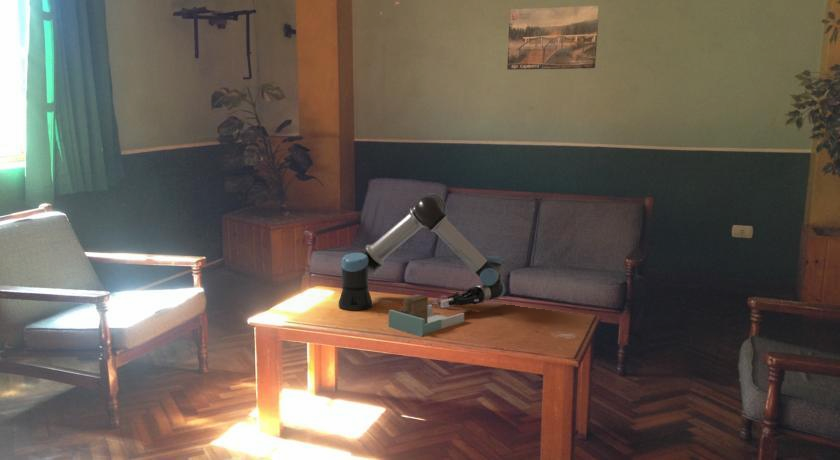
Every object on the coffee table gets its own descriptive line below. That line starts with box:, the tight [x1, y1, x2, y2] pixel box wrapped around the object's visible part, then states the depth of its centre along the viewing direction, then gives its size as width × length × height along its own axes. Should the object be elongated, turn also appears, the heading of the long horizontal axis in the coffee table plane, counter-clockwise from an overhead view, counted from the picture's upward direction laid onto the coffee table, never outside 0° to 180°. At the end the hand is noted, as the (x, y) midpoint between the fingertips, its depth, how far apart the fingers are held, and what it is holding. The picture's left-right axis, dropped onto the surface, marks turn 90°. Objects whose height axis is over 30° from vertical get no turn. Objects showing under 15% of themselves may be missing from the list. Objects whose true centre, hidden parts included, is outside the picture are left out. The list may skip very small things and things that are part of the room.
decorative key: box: [428, 295, 450, 310], centre depth 320 cm, size 7×1×20 cm
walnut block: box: [402, 293, 429, 324], centre depth 289 cm, size 6×8×12 cm
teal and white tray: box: [388, 304, 465, 338], centre depth 294 cm, size 19×25×7 cm
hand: (442, 304), depth 300 cm, fingers closed
